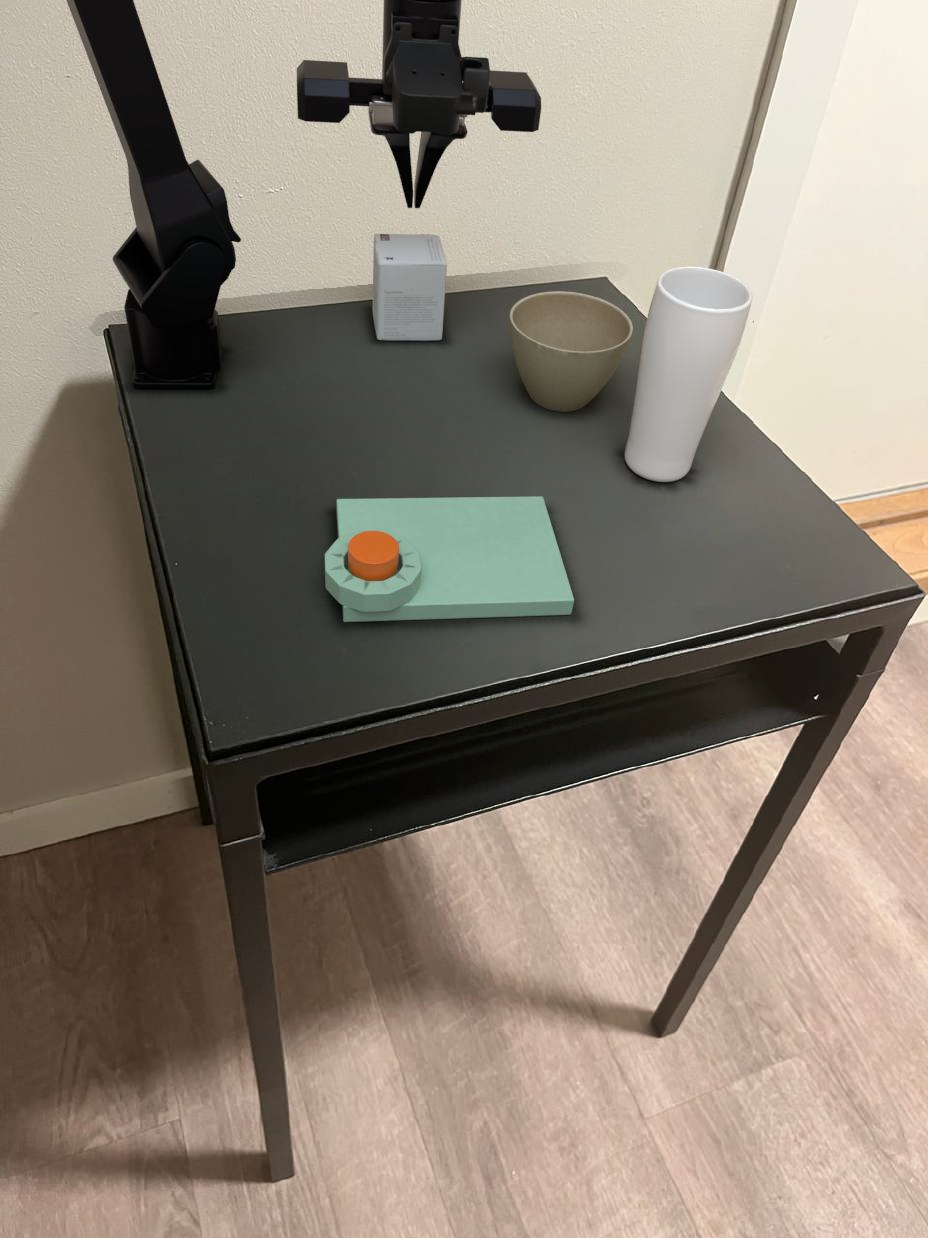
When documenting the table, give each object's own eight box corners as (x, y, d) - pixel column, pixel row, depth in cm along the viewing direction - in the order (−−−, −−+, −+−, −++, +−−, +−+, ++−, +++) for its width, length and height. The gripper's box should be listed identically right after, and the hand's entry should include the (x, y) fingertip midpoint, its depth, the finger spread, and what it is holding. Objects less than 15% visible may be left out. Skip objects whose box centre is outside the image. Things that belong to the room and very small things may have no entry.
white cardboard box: (442, 341, 88) (448, 263, 83) (376, 341, 87) (378, 262, 82) (434, 309, 92) (440, 233, 87) (370, 308, 91) (372, 231, 86)
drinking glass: (697, 498, 74) (755, 318, 64) (610, 481, 75) (653, 300, 64) (699, 449, 79) (754, 274, 69) (617, 434, 80) (659, 258, 69)
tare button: (349, 582, 61) (349, 564, 59) (346, 549, 63) (346, 530, 62) (400, 581, 61) (401, 563, 60) (395, 548, 63) (396, 529, 62)
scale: (327, 629, 61) (326, 595, 59) (321, 514, 69) (321, 480, 67) (573, 621, 64) (581, 588, 62) (540, 510, 72) (546, 478, 70)
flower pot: (527, 354, 88) (538, 279, 83) (631, 387, 85) (649, 312, 80) (480, 405, 81) (489, 326, 76) (591, 443, 79) (608, 364, 74)
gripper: (293, 13, 64) (301, 245, 75) (569, 30, 66) (537, 252, 77) (293, -28, 71) (300, 187, 82) (540, -11, 74) (515, 195, 85)
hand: (413, 206), depth 82 cm, fingers closed
